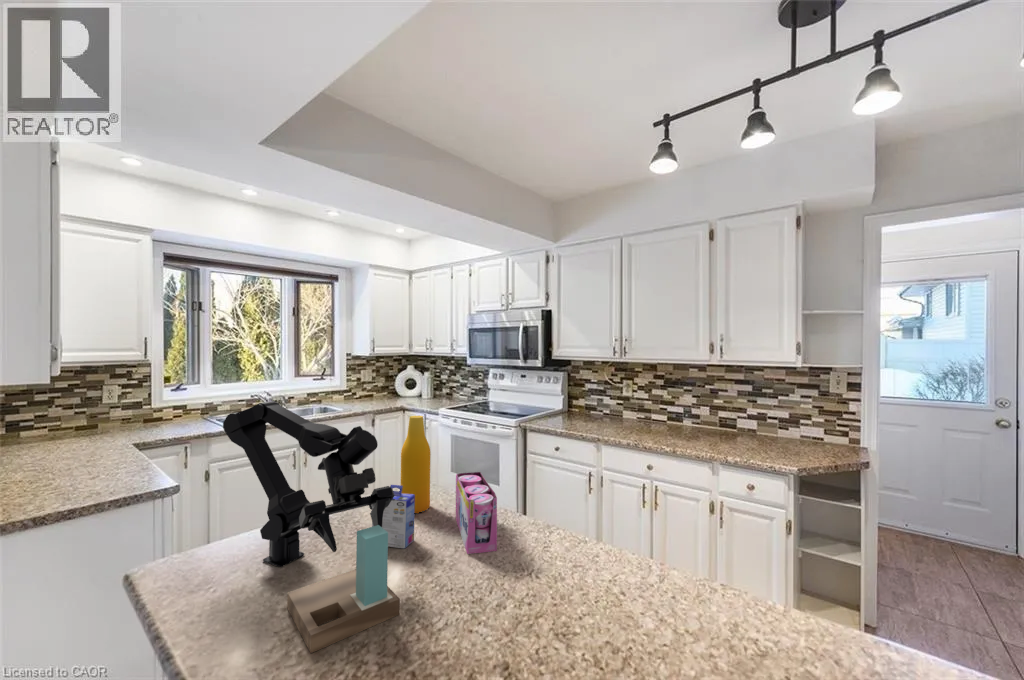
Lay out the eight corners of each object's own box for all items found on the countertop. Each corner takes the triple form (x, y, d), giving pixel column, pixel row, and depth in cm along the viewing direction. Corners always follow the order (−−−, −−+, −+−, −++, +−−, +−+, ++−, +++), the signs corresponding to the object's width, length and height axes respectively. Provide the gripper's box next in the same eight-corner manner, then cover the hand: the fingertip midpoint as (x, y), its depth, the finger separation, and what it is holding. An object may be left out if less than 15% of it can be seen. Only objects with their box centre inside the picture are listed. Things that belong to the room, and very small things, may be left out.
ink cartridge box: (415, 539, 112) (416, 485, 112) (406, 549, 107) (406, 492, 107) (381, 536, 114) (382, 482, 114) (370, 545, 109) (371, 489, 109)
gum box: (499, 554, 105) (499, 499, 105) (467, 557, 103) (468, 502, 103) (480, 516, 128) (481, 471, 128) (454, 518, 126) (455, 473, 126)
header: (287, 607, 83) (287, 591, 83) (367, 578, 93) (367, 564, 93) (310, 653, 71) (311, 634, 71) (399, 614, 81) (399, 597, 81)
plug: (355, 595, 82) (356, 531, 82) (377, 586, 85) (378, 524, 85) (364, 606, 78) (365, 539, 79) (387, 597, 81) (388, 532, 81)
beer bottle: (416, 500, 140) (417, 413, 140) (436, 507, 134) (437, 416, 135) (393, 509, 132) (395, 417, 133) (413, 516, 127) (415, 420, 127)
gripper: (303, 464, 85) (319, 539, 76) (391, 450, 97) (413, 514, 88) (293, 492, 91) (306, 565, 82) (377, 476, 103) (396, 538, 94)
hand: (358, 544), depth 87 cm, fingers open, 9 cm apart
